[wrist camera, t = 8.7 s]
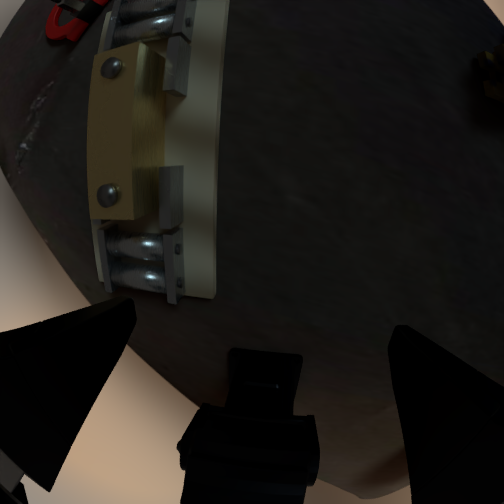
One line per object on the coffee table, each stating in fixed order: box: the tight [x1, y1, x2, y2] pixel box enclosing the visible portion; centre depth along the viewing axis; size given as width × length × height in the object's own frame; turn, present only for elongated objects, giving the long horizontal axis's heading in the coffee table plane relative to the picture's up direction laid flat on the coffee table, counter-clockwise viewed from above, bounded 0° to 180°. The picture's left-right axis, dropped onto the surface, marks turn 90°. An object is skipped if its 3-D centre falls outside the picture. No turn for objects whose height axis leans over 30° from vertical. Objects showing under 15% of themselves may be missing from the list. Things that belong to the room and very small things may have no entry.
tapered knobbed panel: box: [87, 41, 167, 220], centre depth 15 cm, size 11×4×5 cm, turn 178°
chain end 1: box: [103, 0, 197, 97], centre depth 14 cm, size 10×7×2 cm
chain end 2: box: [93, 165, 186, 304], centre depth 19 cm, size 10×7×2 cm
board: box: [91, 0, 230, 299], centre depth 18 cm, size 25×11×1 cm, turn 177°
